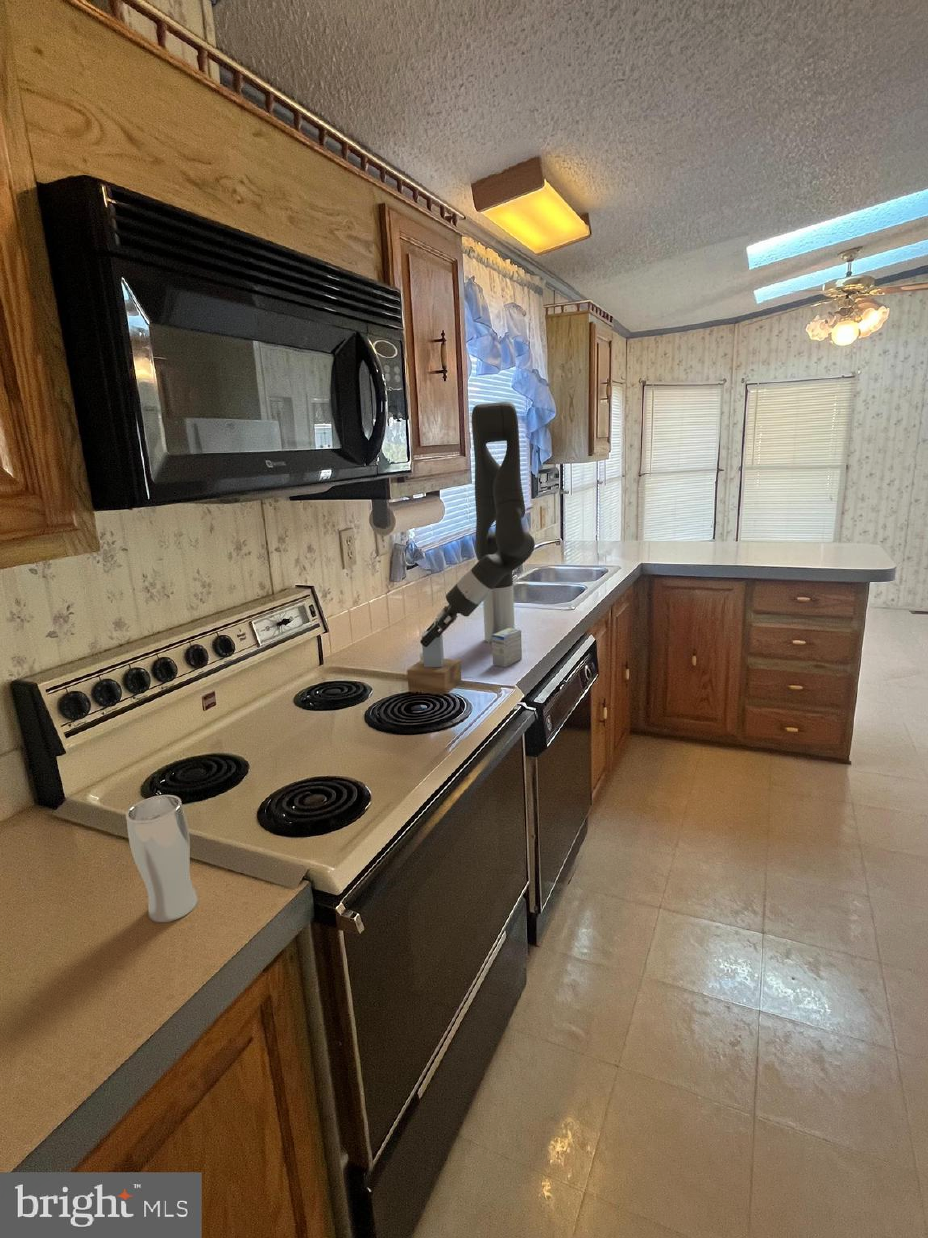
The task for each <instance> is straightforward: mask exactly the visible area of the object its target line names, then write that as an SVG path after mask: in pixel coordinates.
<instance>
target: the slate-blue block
mask: <svg viewBox="0 0 928 1238" xmlns="http://www.w3.org/2000/svg"><path fill="white" fill-rule="evenodd" d="M439 631H440V630H438V632H439ZM428 632H429V631H426V630H424V631H423V633H422V635H421V639H422V638H423V637H424V636H425V635H426V634H427V633H428ZM443 638H444V637H443V633H442V634H441V635H440V637H438V638H437V637H436V638H435V639H434V640H433V641H432V642H431V643H430V644H429V646H428V647H424V646H423V645H422V644H421V645H422V647H421V648H422V653H423V662H424V667H442V666H443V663H444V659H445V655H444V641H443V640H444V639H443Z"/></svg>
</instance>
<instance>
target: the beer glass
mask: <svg viewBox="0 0 928 1238" xmlns="http://www.w3.org/2000/svg"><path fill="white" fill-rule="evenodd" d="M125 819H126V826H127V835H128V843H129V847H130V850H131V855H132V857H133V861H134V863H135V865H136V868H137V870H138V872H139V874H140V876H141V878H142V880H143V883H144V884H145V888H146V892H147V896H148V898H147V899H148V907H147V908H148V910H147V911H148V917H149V918H150V920H151V921H153V922H156V923H169V922H175V921H176V920H179V919H181V918H183V917H185V916H187V915H188V914H189V913H191V912H192V911H193V910H194V909H195V907H196V906H197V904H198V895H197V892H196V890H195V887H194V886H193V884H192V879H191V874H190V872H191V871H190V863H191V862H190V859H191V856H190V855H191V854H190V853H191V852H190V851H191V849H190V848H191V843H190V841H191V840H190V833H189V826H188V821H187V818H186V814H185V812H184V808H183V805H182V799H181V798H180V797H178V796H177V795H173V794H159V795H155V796H151V797H148V798H145V799H143V800H140V801H139V802H136V803H135V804H133V805H132V806H131V807H130V808H129V809H128V810H127V811H126V814H125Z"/></svg>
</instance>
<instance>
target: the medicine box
mask: <svg viewBox="0 0 928 1238" xmlns="http://www.w3.org/2000/svg"><path fill="white" fill-rule="evenodd" d="M491 645H492V648H491V649H492V663H493V664H492V665H494V666H498V667H502V668H506V667H509V666H511V665H513V664H514V663H517V662H519V661H520V660H522V659H523V651H522V630H521V629H517V628H515V629H513V628H507V629H505V630H502V631H500V632H498V633H495V634H493V635H492V643H491Z"/></svg>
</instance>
